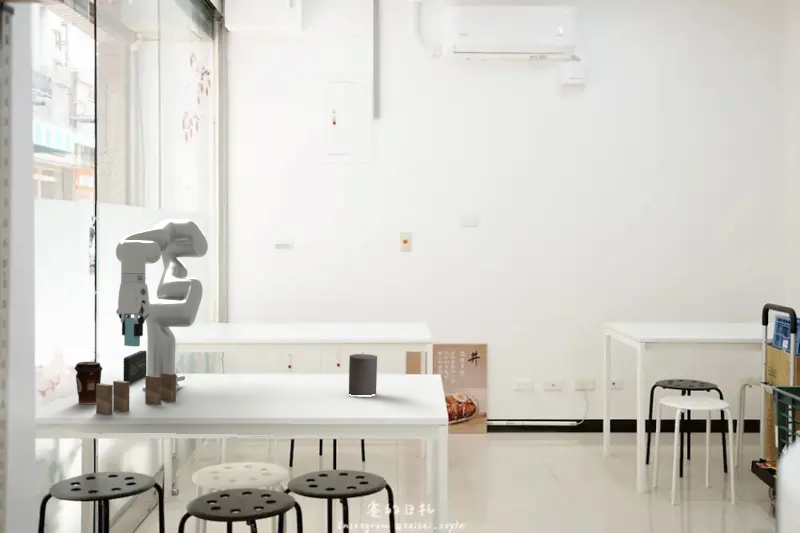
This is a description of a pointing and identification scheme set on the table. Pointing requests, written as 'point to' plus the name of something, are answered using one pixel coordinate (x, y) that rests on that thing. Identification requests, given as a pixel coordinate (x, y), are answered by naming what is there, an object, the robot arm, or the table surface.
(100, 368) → the coffee cup
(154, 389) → the domino
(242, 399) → the table surface
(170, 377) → the domino end
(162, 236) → the robot arm
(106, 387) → the domino far
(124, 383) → the domino
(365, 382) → the pillar candle
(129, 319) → the domino
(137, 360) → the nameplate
